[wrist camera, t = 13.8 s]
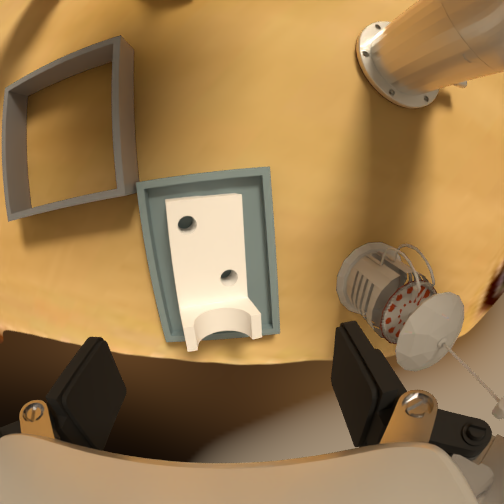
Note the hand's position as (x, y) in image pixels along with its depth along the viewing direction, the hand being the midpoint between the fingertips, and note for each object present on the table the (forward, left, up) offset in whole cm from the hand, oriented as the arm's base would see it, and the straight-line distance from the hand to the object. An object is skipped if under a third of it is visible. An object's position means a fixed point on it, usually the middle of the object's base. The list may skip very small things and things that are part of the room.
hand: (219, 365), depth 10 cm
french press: (-17, +6, -22) cm, 28 cm away
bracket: (+2, +1, -21) cm, 21 cm away
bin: (+18, -15, -21) cm, 32 cm away
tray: (+2, +2, -21) cm, 22 cm away
